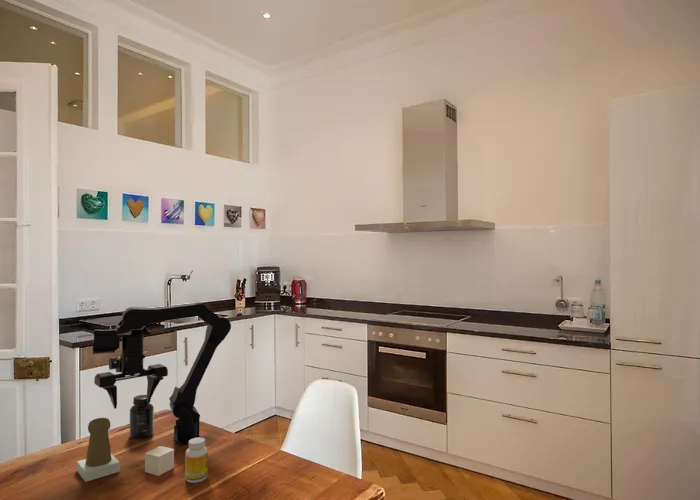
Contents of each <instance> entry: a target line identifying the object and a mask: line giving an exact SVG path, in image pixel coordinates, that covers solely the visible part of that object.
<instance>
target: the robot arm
mask: <svg viewBox="0 0 700 500" xmlns="http://www.w3.org/2000/svg"><path fill="white" fill-rule="evenodd" d="M121 315H122V316H121V320H120V321H119V322H118V324H117V325H116V326H115V327H114V328H113V329H111V328H110V329H98V328H97V329H94V330H93V340H92V355H100V354H101V355H102V354H113V353H116V351H117V350H118V349H120V343H121V354H120V356H119V357H120V358H119V359H118V357H110V358H109V359H108V369H109V370H111V371H112V370H115V373H116V374H114V373H113V372H111V371H107V372H101V373H100V372H99V373H96V375H95V376H94V381H93V382H94V385H95V386H96V387H99V388H101V389H103V390H106V392H107V394H108V396H109V398H110V401H111V404H112V406H113V409H115V410H116V409H117V407H118V394H117V393H118V388H117V387H118V386H117V385H116V384H117V381H123V380H124V381H125V380H130V379H131V380H132V379H136V378H142V377H146V380H147V388H146V395H147V401H148V402H149V401H150V400H152V398H153V395H154V392H155V391H156V388H157V387H158V385H159V383H160V382H161V380H164V377H168V376H169V370H168V367H167V366H165V365H163V364H161V363H157V364H156V363H155V364H152V365H150V364H149V365H148V366H147V369H146V368H144V359H146V354H144V343H145V342H144V336H151V334H152V332H151V331H150V330H148V328H147V326H149V325H151V324H154V323H157V322H162V321H168V320H176V319H182V318H190V317H191V318H192V317H198V318H200V319H201V320H202V321H203V322H205V323H206V324H207V327H206V329H205V330H206V331H205V333H204V334H205V335H204V339H203V340H204V341H203V342H202V345H201V347H200V349H199V351H198V353H197V355H196V358H195V360H194V362H193V364H192V366H191V368H190V370H189V372H188V373H187V376H186V379H185V381H184V382H183V384H182V385H181V386H180V387H177V386H175V387H174V389H173V393H172V394H171V396H170V397H169V399H168V400H169V407H170V410H171V412H172V414H173V416H174V417H175V418H177V419H175V425H174V426H173V437H172V440H174V441H175V442H177V443H178V444H180V446H183V445H186V444H189V440H191V439H193V438H203V437H202V436H200V421H201V420H200V419H201V415H200V413H199V411H198V409H197V408H196V407H195V402H196V397H197V396H196V395H197V391H198V388H199V386H200V384H201V381H202V379H203V377H204V375H205V374H206V371H207V369H208V367H209V365H210V362H211V361H212V359H213V356H214V354H215V352H216V350H217V348H218V346H220V344H222V342H223V341H224V340H225V338H226V337H227V336H228V334H229V333H230V331H231V328H232V324H231V321H230V320H229V319H228V318H226V317H225V316H223V315H220V314H219V315H217V314H216V313H215V312H213V311H212V310H211V309H210V308H208V307H207V306H206V305H205V303H203V302H200V301H199V302H198V301H197V302H194V303H188V304H179V305H171V306H164V307H146V306H145V307H143V306H141V307H140V306H130V307H128V308H126V309H125V310H124V311H123V313H122V314H121ZM120 338H121V341H120ZM150 402H151V401H150Z"/></svg>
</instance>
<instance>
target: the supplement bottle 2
mask: <svg viewBox="0 0 700 500" xmlns="http://www.w3.org/2000/svg"><path fill="white" fill-rule="evenodd" d="M205 445H206V438H204V437H202V438H193V439H191V440H189V443H188V446H187V447H188V448H187V449H186V450H185V468H184V470H185V474H184V477H185V481H186V482H187V483H191V484H196V483H200V482H203V481H205V480H206V479H207V477H208V465H209V464H208V462H209V461H208V460H209V459H208V457H209V456H208V455H209V454H208V453H209V451H208V448H207V447H206V446H205Z"/></svg>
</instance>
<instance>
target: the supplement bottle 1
mask: <svg viewBox="0 0 700 500" xmlns="http://www.w3.org/2000/svg"><path fill="white" fill-rule="evenodd" d="M151 401H152V399H150V401H149V402H148V401H147V394H139V395H136V396H134V397H133V401H132V404H133V405H132V406H131V407H130V409H129V437H130V438H131V439H133V440H143V439H146V438H150V437H151V436H152V435H153V434H154V419H155V418H154V417H155V415H154V411H155V410H154V409H155V408H154V405H153V404H152V403H151Z"/></svg>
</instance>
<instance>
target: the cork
mask: <svg viewBox="0 0 700 500" xmlns="http://www.w3.org/2000/svg"><path fill="white" fill-rule="evenodd" d="M110 429H111V421H110V419H109V418H107V417H98V418H95V419H92V420H90V421H89V423H88V424H87V430H88V433H89V439H88V446H87V452H86V458H85V459H86V465H87V466H89V467H97V466H102V465H105V464H107V463H109V462H110V461H111V460H112V458H111V454H112V453H111V445H110V436H109V430H110Z"/></svg>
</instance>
